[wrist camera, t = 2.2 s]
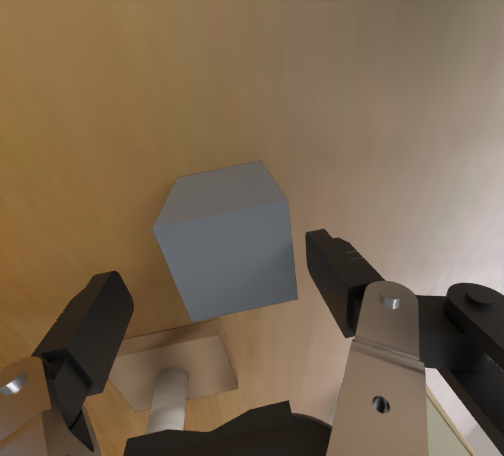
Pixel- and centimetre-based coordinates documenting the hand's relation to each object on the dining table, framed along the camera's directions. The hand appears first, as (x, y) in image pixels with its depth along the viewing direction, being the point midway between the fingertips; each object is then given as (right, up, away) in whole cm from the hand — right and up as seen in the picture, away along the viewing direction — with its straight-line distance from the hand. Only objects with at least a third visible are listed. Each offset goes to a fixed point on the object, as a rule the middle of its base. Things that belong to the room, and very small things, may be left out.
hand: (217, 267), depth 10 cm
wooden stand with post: (-6, -11, +12) cm, 17 cm away
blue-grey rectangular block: (0, +3, +6) cm, 6 cm away
